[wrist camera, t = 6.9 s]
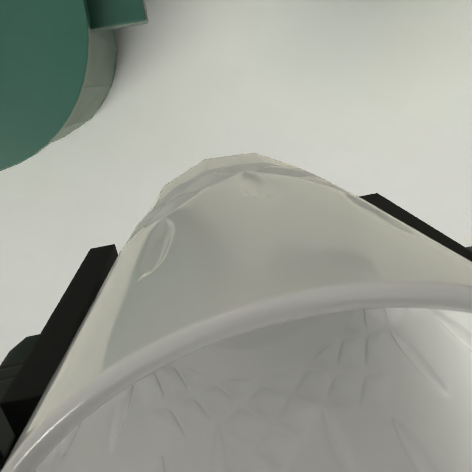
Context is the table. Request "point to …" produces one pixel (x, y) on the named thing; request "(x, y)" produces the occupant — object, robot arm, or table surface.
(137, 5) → the pot
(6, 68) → the pot lid
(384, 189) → the table surface
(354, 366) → the white cup
